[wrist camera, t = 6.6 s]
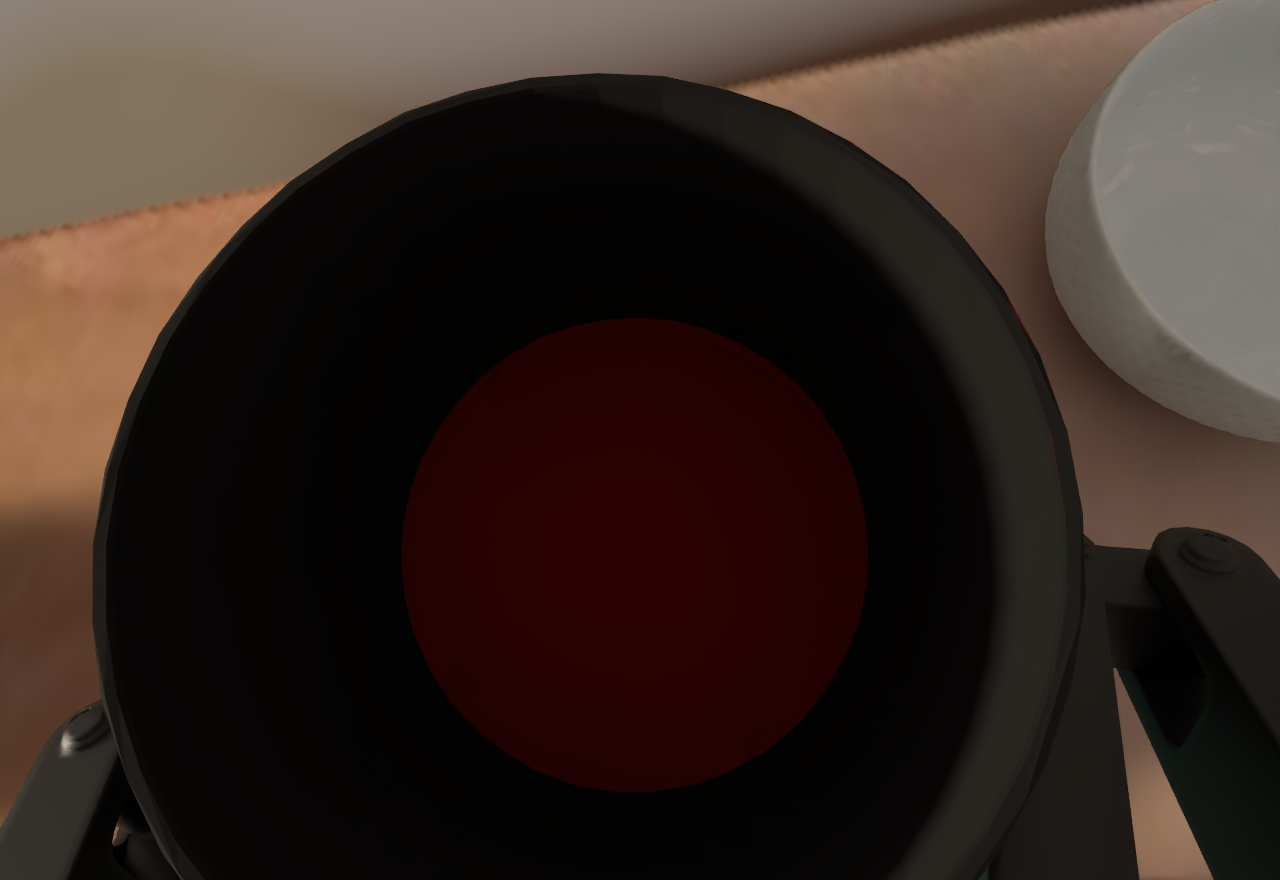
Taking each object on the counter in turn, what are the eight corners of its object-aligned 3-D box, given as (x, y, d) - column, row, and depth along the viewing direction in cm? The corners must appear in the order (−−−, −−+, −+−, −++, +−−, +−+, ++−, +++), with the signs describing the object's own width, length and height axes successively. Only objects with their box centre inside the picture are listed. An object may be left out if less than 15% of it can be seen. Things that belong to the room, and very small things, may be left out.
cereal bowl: (1252, 66, 28) (1439, -98, 21) (1497, 377, 24) (1819, 301, 17) (922, 200, 28) (1002, 78, 21) (1119, 536, 24) (1296, 522, 17)
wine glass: (637, 385, 26) (513, -147, 7) (834, 534, 24) (1444, 386, 5) (481, 573, 25) (-223, 580, 6) (676, 746, 23) (658, 1700, 4)
